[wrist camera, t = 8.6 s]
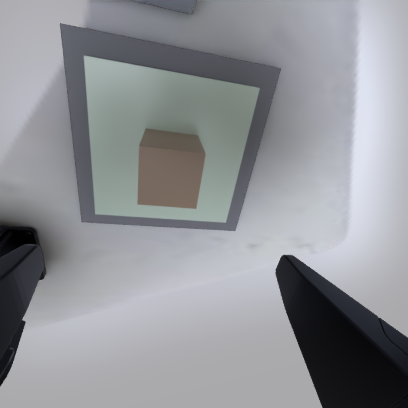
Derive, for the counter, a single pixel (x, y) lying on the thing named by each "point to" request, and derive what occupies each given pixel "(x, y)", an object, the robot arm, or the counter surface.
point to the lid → (164, 141)
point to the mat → (170, 61)
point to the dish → (173, 4)
